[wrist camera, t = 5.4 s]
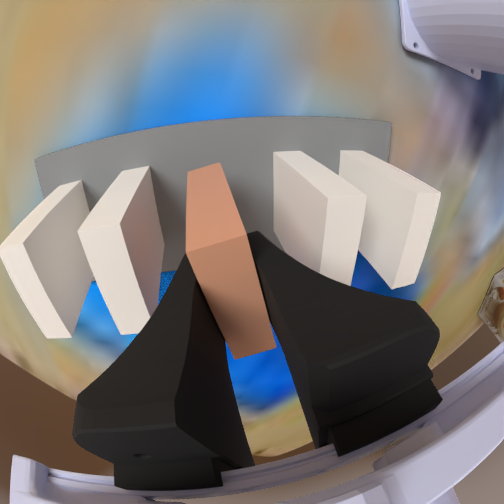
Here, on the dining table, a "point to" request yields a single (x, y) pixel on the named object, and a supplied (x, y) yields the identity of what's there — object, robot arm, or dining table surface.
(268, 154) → the domino mat
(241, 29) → the dining table surface
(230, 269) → the domino
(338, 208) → the domino
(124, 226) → the domino
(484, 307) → the coffee box
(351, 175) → the domino
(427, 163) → the dining table surface
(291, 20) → the dining table surface
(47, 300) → the domino
